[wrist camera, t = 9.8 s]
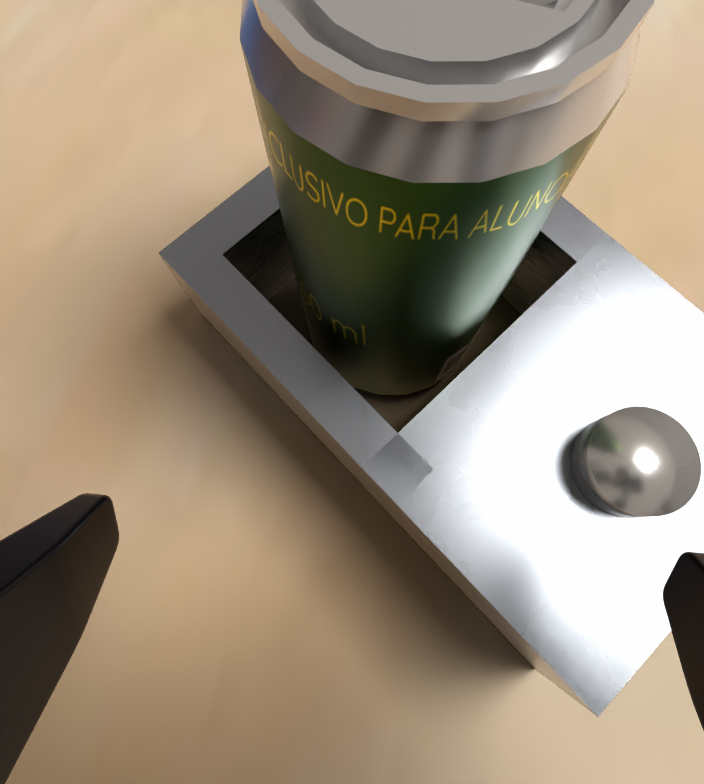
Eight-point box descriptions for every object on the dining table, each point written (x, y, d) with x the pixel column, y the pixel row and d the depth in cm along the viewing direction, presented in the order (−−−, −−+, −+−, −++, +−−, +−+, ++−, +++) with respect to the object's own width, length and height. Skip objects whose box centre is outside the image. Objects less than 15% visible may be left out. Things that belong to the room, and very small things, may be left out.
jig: (728, 452, 17) (882, 418, 12) (536, 669, 15) (620, 734, 10) (391, 156, 19) (402, 32, 15) (201, 313, 18) (143, 232, 13)
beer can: (495, 291, 18) (743, -144, 6) (428, 430, 17) (587, 200, 5) (353, 228, 19) (350, -268, 7) (280, 357, 18) (130, 10, 6)
